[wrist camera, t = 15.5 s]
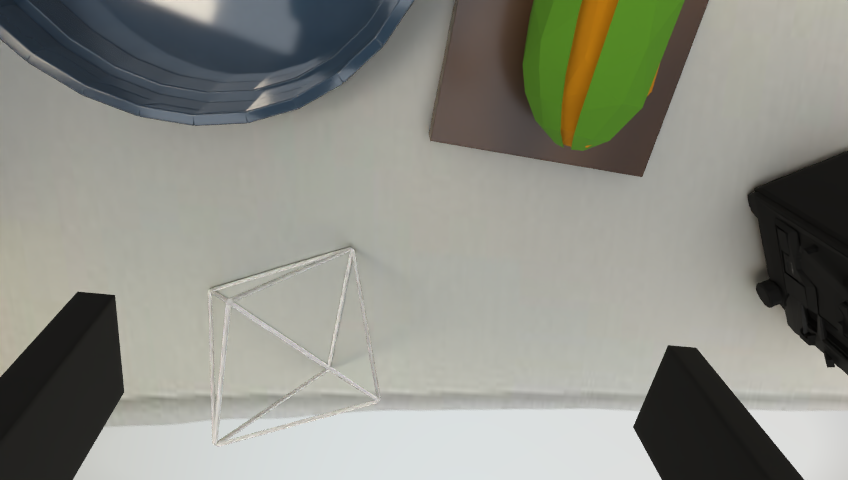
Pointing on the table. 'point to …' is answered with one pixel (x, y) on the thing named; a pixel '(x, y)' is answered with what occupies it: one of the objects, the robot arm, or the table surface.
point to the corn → (593, 64)
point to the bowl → (200, 51)
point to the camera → (808, 253)
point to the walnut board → (506, 100)
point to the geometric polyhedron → (230, 302)
